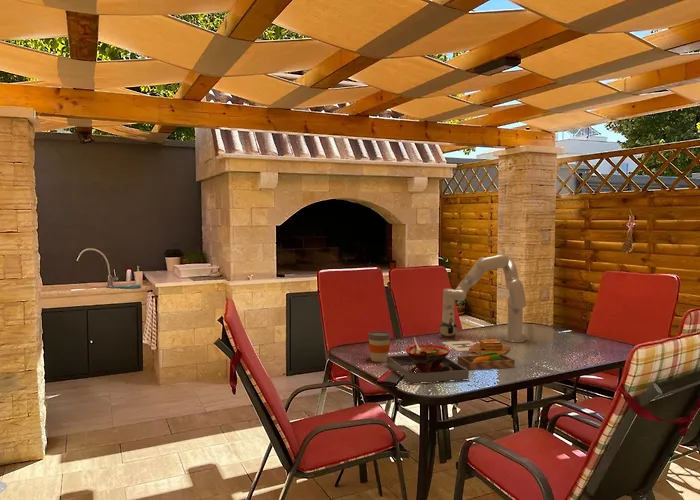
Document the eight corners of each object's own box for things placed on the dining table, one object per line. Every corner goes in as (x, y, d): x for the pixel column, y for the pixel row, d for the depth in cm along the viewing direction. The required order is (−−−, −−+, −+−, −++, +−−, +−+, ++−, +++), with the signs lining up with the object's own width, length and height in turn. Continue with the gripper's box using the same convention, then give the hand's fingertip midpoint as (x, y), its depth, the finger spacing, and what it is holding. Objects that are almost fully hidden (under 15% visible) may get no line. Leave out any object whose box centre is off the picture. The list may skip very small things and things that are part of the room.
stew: (397, 365, 294) (398, 336, 293) (439, 363, 299) (439, 335, 298) (414, 380, 267) (414, 348, 266) (459, 378, 272) (460, 346, 271)
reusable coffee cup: (374, 363, 297) (375, 336, 296) (364, 358, 308) (364, 332, 307) (394, 361, 303) (394, 334, 302) (382, 355, 314) (383, 330, 313)
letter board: (469, 341, 355) (469, 340, 355) (487, 349, 332) (487, 348, 332) (441, 342, 350) (441, 341, 350) (458, 351, 327) (458, 350, 327)
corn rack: (500, 360, 306) (501, 353, 306) (514, 367, 293) (514, 360, 293) (457, 363, 299) (457, 356, 299) (469, 370, 286) (469, 362, 286)
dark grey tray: (439, 362, 301) (439, 353, 301) (468, 380, 268) (468, 370, 267) (386, 365, 294) (387, 356, 293) (410, 384, 260) (410, 374, 260)
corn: (504, 351, 297) (478, 355, 286) (504, 365, 297) (479, 370, 286) (494, 349, 303) (468, 353, 292) (494, 363, 303) (468, 367, 292)
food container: (456, 337, 366) (456, 323, 366) (457, 339, 360) (457, 324, 360) (438, 336, 368) (438, 322, 367) (438, 338, 362) (439, 324, 361)
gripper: (459, 309, 355) (458, 334, 356) (447, 304, 372) (447, 329, 373) (448, 309, 354) (447, 334, 355) (437, 305, 370) (437, 329, 371)
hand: (447, 332), depth 364 cm, fingers open, 9 cm apart
